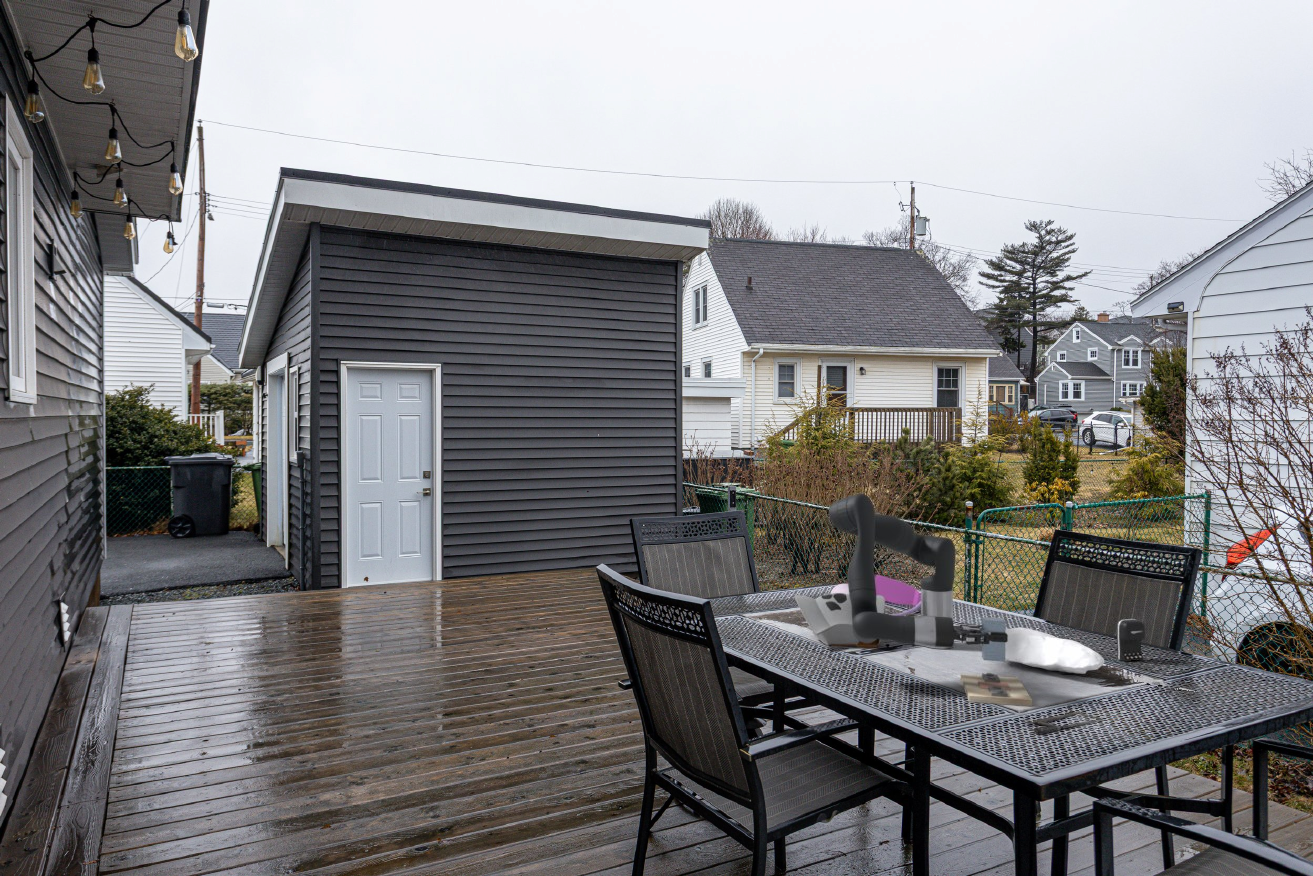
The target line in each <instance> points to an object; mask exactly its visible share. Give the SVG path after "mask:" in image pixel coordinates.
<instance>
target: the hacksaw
mask: <svg viewBox="0 0 1313 876" xmlns="http://www.w3.org/2000/svg"><path fill="white" fill-rule="evenodd" d="M1070 707H1073V705H1071V704H1070V705H1066V709H1067V710H1069V712H1065V713H1064V714H1060V715H1058V716H1052V717H1051V716H1050V717H1044V718H1040V719H1035V720H1033V721H1032V722H1030V719H1026V718H1025V719H1022V720H1021V721H1022V722H1023V723H1025V724H1029V725H1038V727H1037V726H1036V727H1034V728H1033V730H1032V731H1033V732H1034V733H1035V734H1038V735H1041V736H1042V735H1044V734H1047V733H1052V732H1057V731H1061V729H1067V728H1068V729H1069V728H1072V727H1078V726H1083V725H1088V724H1093V723H1098V722H1099V721H1101V722H1104V719H1103V718H1101V717H1097V716H1094V715H1088V714H1085V713H1083V712H1084V711H1085V709H1084V708H1083V707H1082V706H1078V705H1074V707H1076V708H1080V709H1082V710H1080V711H1079V710H1076V711H1074V712H1073V710H1072V709H1071V708H1070ZM1081 711H1082V712H1081ZM1076 715H1080V716H1082V717H1083V716H1084V717H1088V718H1092V719H1096V720H1092V719H1091V720H1088V721H1082V722H1077V723H1076V722H1075V723H1071V724H1066V725H1065V724H1064V725H1055V724H1052V723H1048V722H1052V721H1053V722H1054V721H1058V720H1062V719H1065V718H1069V717H1072V716H1076ZM1027 720H1028V721H1027ZM1039 725H1040V727H1039ZM1042 726H1043V727H1042ZM1044 726H1045V727H1044Z"/></svg>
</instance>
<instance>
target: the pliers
mask: <svg viewBox="0 0 1313 876" xmlns="http://www.w3.org/2000/svg"><path fill="white" fill-rule="evenodd" d="M1135 680H1138V681H1140V682H1144V683H1149V684H1159V686H1160V685H1163V686H1167V685H1168V684H1167V683H1166V682H1165V681H1163V680H1159V679H1155V678H1152V677H1149V676H1147V675H1142V677H1140V676H1138V675H1137V676H1136V675H1135V676H1134V681H1135ZM1179 689H1182V690H1187V691H1188V690H1189V691H1194V692H1195V690H1192V689H1187V688H1183V687H1180V688H1179ZM1175 690H1176V689H1175ZM1177 690H1178V688H1177Z"/></svg>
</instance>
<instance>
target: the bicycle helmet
mask: <svg viewBox="0 0 1313 876" xmlns="http://www.w3.org/2000/svg"><path fill="white" fill-rule="evenodd" d="M794 599H795V601H796V604H797V605H798V608H799V610H800V611H801V614H802V616H803V617H804V619H805V621H806V623H807V624H808V626H809V627H810V629H811V631H812V634H813V635H814V637H815V638H817V640H819V641H821V642H822V643H823V644H824V645H825V646H832V647H833V646H835V647H851V646H852V647H854V646H856V647H857V648H878V646H879V645H880V643H881V641H882V639H876V640H875V641H874V642H872V643H863V642H861V641H859V640H858V639H857V638H856V637H855V635H854V633H853V627H852V606H851V601H850V596H849V594H845V593H831V592H829V593H826V594H823V595H820V596H818V597H816V598H814V597H810V596H806V595H798V594H797V595H796V594H795V595H794ZM876 606H877V612H878V613H884V614H886V601H885V599H884V597H883V596H881V595H877V596H876Z"/></svg>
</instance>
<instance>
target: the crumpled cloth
mask: <svg viewBox="0 0 1313 876" xmlns="http://www.w3.org/2000/svg"><path fill="white" fill-rule="evenodd" d="M1005 633H1007V635H1008V641H1007V642H1005V661H1009V662H1013V663H1020V664H1022V665H1026V666H1030V667H1034V668H1040V669H1044V670H1047V671H1053V672H1054V671H1057V672H1058V671H1059V672H1065V673H1068V674H1069V673H1074V674H1080V675H1081V674H1082V675H1083V674H1086V673H1087V672H1088V671H1095V670H1099V669H1100V668H1101V667H1102V666H1103V665H1104V664H1105V659H1104V657H1103V656H1102V655H1101V654H1100V653H1098V652H1097V651H1095V650H1093V649H1092V648H1090V647H1089V646H1086V645H1083V644H1082V643H1080V642H1078V641H1076V640H1072V639H1067V638H1059V637H1056V636H1054V635H1052V634H1048V633H1046V632H1042V631H1038V630H1034V629H1031V628H1028V627H1027V628H1026V627H1013V628H1005Z"/></svg>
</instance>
